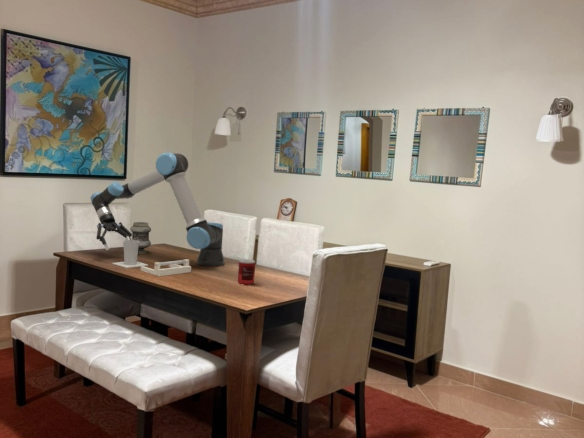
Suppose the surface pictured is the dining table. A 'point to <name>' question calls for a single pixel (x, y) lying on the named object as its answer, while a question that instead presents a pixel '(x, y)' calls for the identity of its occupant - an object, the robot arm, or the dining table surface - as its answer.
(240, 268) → the canned food
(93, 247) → the dining table surface
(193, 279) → the dining table surface
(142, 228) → the apothecary jar
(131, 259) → the cup
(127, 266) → the mat
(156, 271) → the dispenser bay
